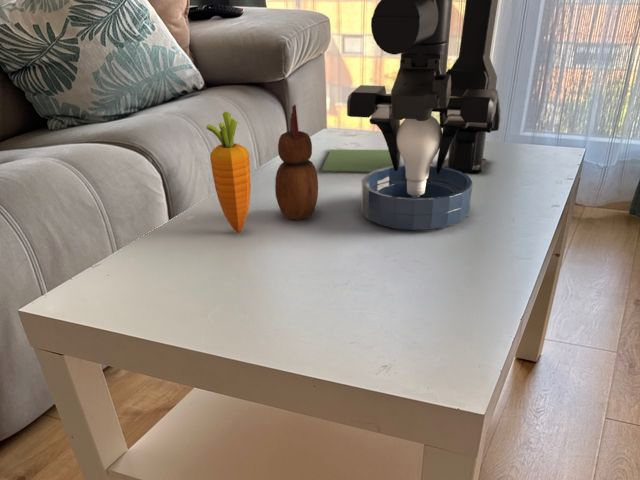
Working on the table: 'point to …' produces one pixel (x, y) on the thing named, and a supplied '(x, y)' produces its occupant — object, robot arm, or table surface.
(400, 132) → the lightbulb
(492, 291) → the table surface
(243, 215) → the carrot
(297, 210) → the wooden figurine
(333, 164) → the napkin
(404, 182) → the bowl
